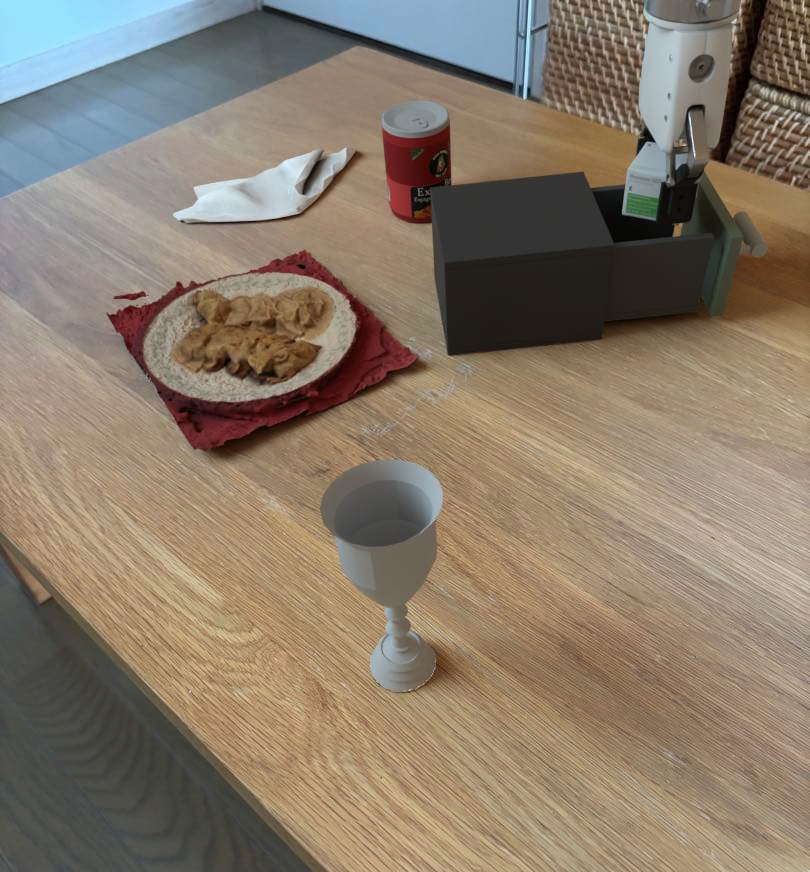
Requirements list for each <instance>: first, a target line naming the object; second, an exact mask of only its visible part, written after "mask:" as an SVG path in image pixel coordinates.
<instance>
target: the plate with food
mask: <svg viewBox="0 0 810 872" xmlns="http://www.w3.org/2000/svg"><path fill="white" fill-rule="evenodd" d="M298 265H301V266H305V268H301V267H299V266H298ZM146 297H149V294H147V293H146V291H144V290H141V291H140V292H134V293H125V294H120V295H115V296H113V297H112V300H128V301H136V300H138V299H140V298H146ZM138 306H139V304H136V306H135V305H131V304H130V305H128V306H126V307H124V308H123V309H120V308H118V309H117V311H116V313H111V314H109V312H106V316H107V318H108V319H109V322H110V323H111V324H112V326H113V328H114V330H115V332H116V334H120V335H121V336H122V337H123V343H124V345H125V348H126V349H127V351H128V352H129V354H130V355H131V356H132V357H133V359H134V360H135V362H136V364H137V365H138V367H139V368H140V370H141V371H142V373H143V374H144V375H145V378H146V380H148V383H149V384H153V385H154V387H155V389H156V395H157V396H158V398H159V400H160V401H161V403H162V404H163V406H164V407H165V408H166V409H167V410H168V411H169V413H170V415H171V416H172V420H173V421H174V422H175V424H176V425H177V427H178V428H179V430H180V431H181V433H182V435H183V436H184V438H185V440H187V443H188V444H189V445H190V447H192V449H193V450H194V451H196V450H201V451H203V452H208V451H210V450H211V449H212V448H217V447H220V446H224V445H225V442H226V441H229V440H234V439H236V440H238V439H241V438H243V437H244V436H246V435H250V434H251V433H252V432H253V431H255V430H258V429H259V428H261V427H263V426H266V427H268V428H270V427H272V426H274V425H277V424H279V423H282V422H286V421H287V420H289V419H291V418H293V417H294V416H295V417H296V416H297V419H299V418H300V417H299V416H298V415H300V414H302V413H304V411H306V410H307V412H306V414H305V416H306V417H309V415H313V414H314V413H315V412H316V413H317V412H321V411H323V410H327V409H329V408H330V407H332V406H335V405H337V404H342V403H343V402H345V401H349V399H350V398H355V397H356V393H357V392H359V391H361V390H364V389H365V388H366V387H370V386H372V385H375V384H378V383H380V382H381V381H382V380H383V379H384V378H386V377H387V372H390V371H395V370H400V369H403V368H406V367H408V366H410V365H411V364H412V363H414V362H415V360H416V359H417V358H418V354H414V353H412V351H411V349H410V348H409V347H407V346H404V347H403V345H401V344H400V343H399V342H398V341H397V340H396V339H395V338H394V337H393V336H391V334H390V333H389V332H388V331H387V330H386V329H385V327H384V324H382V323H381V321H380V319H379V318H378V317H377V316H375V315H373V314H372V313H371V312H370V311H369V310H368V308H367V307H366V305H364V303H361V301H359V300H358V299H357V298H355V296H354V295H353V294H352V292H350V291H348V290H347V289H345V288H344V287H343V285H342V284H341V282H340V281H338V280H337V278H336V277H335V276H334V275H333V274H330V273H329V272H328V270H326V268H325V267H324V266H322V263H321V262H318V261H317V260H315V259H314V258H313V257H312V256H311V255H310V254H309V252H308V251H307V250H306V248H304V249H303V250H302V251H298V253H296V252H295V253H292V254H291V255H287V256H286V257H284V258H283V259H280V258H274V259H272V260H271V261H270V262H269V264H267V265H264V266H261V267H258V268H257V269H250V270H249V271H247V272H242V273H237V274H229V275H225V276H223V277H218V278H217V279H210V280H207V281H205V282H197V283H196V281H194V280H190V282H189V284H188V286H187V287H184V285H183V283H182V282H181V281H175V287H173V288H171V290H169V291H168V292H167V293H166V294H164V295H163V294H162V295H161V297H160V298H159V299H157V300H156V301H152V302H151V303H146V302H144V304H142V305H141V306H139V307H138Z"/></svg>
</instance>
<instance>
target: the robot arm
mask: <svg viewBox="0 0 810 872" xmlns="http://www.w3.org/2000/svg"><path fill="white" fill-rule="evenodd" d="M741 5H742V0H644V4H643V12H642V15H643V17H644V19H645V20H646V21H647V22H648V29H647V35H646V40H645V45H644V52H643V58H642V64H641V65H642V66H641V71H640V78H639V79H640V80H639V89H638V90H639V91H638V109H639V114H640V116H641V119H640V122H639V124H638V125H639V126H638V135H639V137H640V138H637V143H636V153H635V157H636V156H637V155H638V154H639V152H640V151H641V149H642V148H643V146H644V145H645V143H646V142H653V143H657V145H658V146H659V148H660V149H661V150H662V151H663V152H665V153H666V182H661V188H660V195H659V201H658V208H657V214H656V222H657V224H658V225H669V224H677V223H679V224H682V223H686V222H689V221H690V220H691V219H692V214H693V209H694V204H695V198H696V193H697V188H698V184H699V183H700V181H701V176H702V173H703V172H705V168H706V167H707V165H708V164H709V161H710V153H709V150H710V151H711V150H715V148H717V146H718V145H719V142H720V138H721V133H722V127H723V120H724V115H725V108H726V101H727V95H728V88H729V79H730V74H731V64H732V53H733V38H734V37H733V35H734V25H733V22H735V20H736V19H737V18H738V17H739V14H740V9H741ZM679 140H686V145H680V146H678V147H674V146H675V142H678V141H679ZM680 154H688V158H687V159H686V163H685V164H681V165H680V166H679V167H678V168H677V169H676V155H680Z"/></svg>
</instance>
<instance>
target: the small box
mask: <svg viewBox="0 0 810 872" xmlns="http://www.w3.org/2000/svg"><path fill="white" fill-rule="evenodd" d="M674 147H679V146H677V145H674ZM687 158H688V154H680V155H676V169H677V168H678V167H679V166H680V165H681V164H685V163H686V159H687ZM661 182H666V153H665V152H663V151H662V150H661V149H660V148H659V146H658V145H657V143H653V142H646V143H645V145H644V146H643V148H642V149H641V151H640V152H639V154H638V155H637V156H636V155H635V158H634V159H633V160H632V162H631V163H630V165H629V166H628V168H627V171H626V179H625V184H626V185H625V194H624V201H623V209H622V214H623V215H625V216H634V217H639V218H644V219H649V220H654V221H656V214H657V208H658V201H659V195H660V188H661ZM698 185H699V184H698ZM697 191H698V188H697ZM696 197H697V193H696ZM695 199H696V198H695ZM672 225H675V226H676V227H677V226H679V225H680V223H677V224H672Z"/></svg>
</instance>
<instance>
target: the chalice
mask: <svg viewBox="0 0 810 872" xmlns="http://www.w3.org/2000/svg"><path fill="white" fill-rule="evenodd" d="M443 499H444V491H443V489H442V486H441V484H440V481H439V479H438V478H437V477H436V476H435V475H434V474H433V473H432V472H431V471H430V470H429V469H427V468H425V467H424V466H422V465H419V464H417V463H415V462H413V461H409V460H408V461H407V460H403V459H397V458H392V459H375V460H371V461H367V462H364V463H359V464H357V465H356V466H353V467H351V468H349V469H347V470H345V471H344V472H342V473H341V474H339V476H337V477H336V478H335V479H334V480H332V481H331V482H330V484H329V485H328V487H327V488H326V490H325V491H324V492H323V494H322V497H321V501H320V502H321V503H320V506H319V511H320V516H321V520H322V524H323V525H324V526H325V527H326V528H327V529H328V531H329V532H330V533H331V534H332V536H334V540H335V545H336V550H337V555H338V559H339V563H340V568H341V571H342V572H343V574H344V575H345V576H346V577H347V579H348V580H349V581H350V582H351V583H352V584H353V585H354V586H355V588H356V589H357V590H358V591H359V592H360V593H361V594H363V595H364V596H365V597H367V598H369V599H370V600H372V601H373V602H375V603H376V604H378V605H380V606H381V607H384V609H383V610H384V611H383V614H384V616H385V618H386V619H387V622H386V623H385V627H384V628H385V629H384V630H385V634H384V635H383V636H382V637H381V638H380V639H379V641H378V642H377V643H376V646H375V648H373V650H374V651H373V650H372V652H373V653H372V652H371V654H372V655H371V654H370V656H371V657H370V656H369V661H370V666H369V665H368V668H369V667H370V669H371V670H370V669H369V672H370V671H371V673H372V676H373V677H374V679H376V682H377V683H380V685H381V686H383V687H385V688H386V689H390V690H392V691H398V692H402V691H404V690H409V689H416V688H417V687H418V686H419V685H422V684H423V683H426V680H428V679H429V678H430V677H431V675H432V673H433V670H434V668H435V663H436V662H435V661H436V660H435V659H436V658H437V657H436V658H435V655H436V653H435V654H434V652H435V649H434V648H433V647H432V646H431V644H430V643H429V642H428V641H427V640H425V638H424V637H422V636H421V635H420V634H419V633H418V632H416V631H414V630H412V629H411V628H412V624H411V621H410V620H409V619H408V618H407V615H408V614H409V608H408V605H406V604H407V603H409V601H411V600H412V598H413V597H414V596H415V595H416V594H417V593H418V591H419V590H420V589H421V587H422V586H423V585H424V583H425V582H426V580H427V579H428V576H429V574H430V573H431V570H432V568H433V566H434V564H435V562H436V560H437V555H438V535H437V517H438V515H439V514H440V512H441V510H442V508H443V502H444V500H443ZM427 642H428V643H429V644H430V645H429V644H428V643H427ZM431 647H432V648H433V649H434V650H433V649H432V648H431ZM371 673H370V674H371ZM372 676H371V677H372ZM374 679H373V680H374ZM376 682H375V683H376ZM377 683H376V684H377ZM380 685H379V686H380ZM381 686H380V687H381ZM392 691H391V692H392Z"/></svg>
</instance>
